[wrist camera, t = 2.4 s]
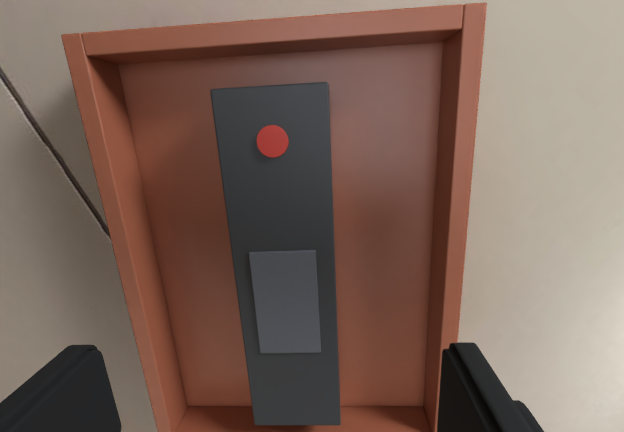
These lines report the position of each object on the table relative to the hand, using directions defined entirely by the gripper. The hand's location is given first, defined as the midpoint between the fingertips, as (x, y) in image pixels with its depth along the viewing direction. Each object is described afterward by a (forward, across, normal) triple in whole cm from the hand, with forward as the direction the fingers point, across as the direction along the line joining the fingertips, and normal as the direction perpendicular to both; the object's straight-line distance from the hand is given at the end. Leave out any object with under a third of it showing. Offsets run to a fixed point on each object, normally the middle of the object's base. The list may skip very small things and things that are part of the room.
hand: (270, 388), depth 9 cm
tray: (+9, 0, 0) cm, 9 cm away
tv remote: (+8, 0, 0) cm, 8 cm away
